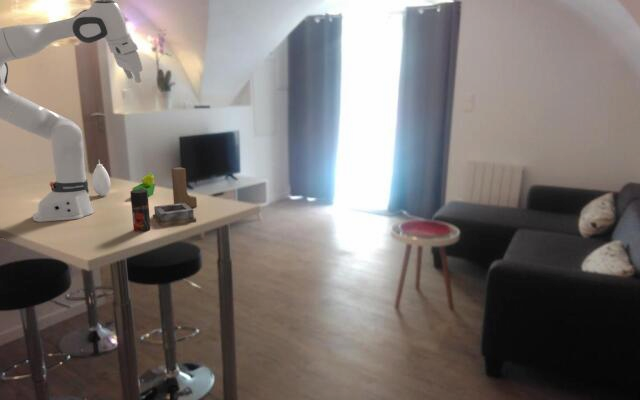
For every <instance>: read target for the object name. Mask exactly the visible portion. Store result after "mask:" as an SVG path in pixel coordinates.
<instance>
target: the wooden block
mask: <svg viewBox="0 0 640 400" xmlns="http://www.w3.org/2000/svg"><path fill="white" fill-rule="evenodd" d="M186 171H187V170H186V168H184V167H180V166H179V167H172V168H171V179H172V180H171V181H172V197H173V204H180V203H186V204H187V205H188V206H189V207H190V208H192V209H193V208H196V207H197V205H198V203H197V201H198V200H197V197H196V196H194V195H189V194H188V190H187V189H188V187H187V172H186Z"/></svg>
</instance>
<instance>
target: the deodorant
mask: <svg viewBox="0 0 640 400" xmlns="http://www.w3.org/2000/svg"><path fill="white" fill-rule="evenodd" d="M129 193H130V200H131V203H130V204H131V212H132V223H133V232H135V233H144V232H145V233H146V232H149V231H150V230H151V220H150V219H151V216H150V205H149V197H148V191H147V190H144V189H138V190H130V192H129Z"/></svg>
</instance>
